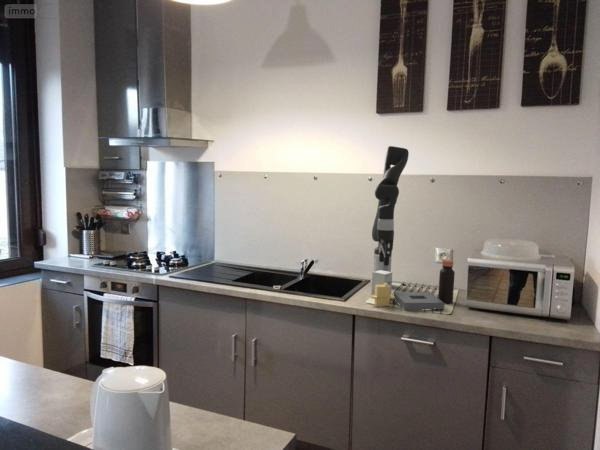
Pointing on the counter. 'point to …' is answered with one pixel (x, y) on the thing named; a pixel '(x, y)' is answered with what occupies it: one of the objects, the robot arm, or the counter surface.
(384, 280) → the supplement box
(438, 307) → the plate
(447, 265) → the bottle
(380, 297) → the servo block
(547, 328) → the counter surface
